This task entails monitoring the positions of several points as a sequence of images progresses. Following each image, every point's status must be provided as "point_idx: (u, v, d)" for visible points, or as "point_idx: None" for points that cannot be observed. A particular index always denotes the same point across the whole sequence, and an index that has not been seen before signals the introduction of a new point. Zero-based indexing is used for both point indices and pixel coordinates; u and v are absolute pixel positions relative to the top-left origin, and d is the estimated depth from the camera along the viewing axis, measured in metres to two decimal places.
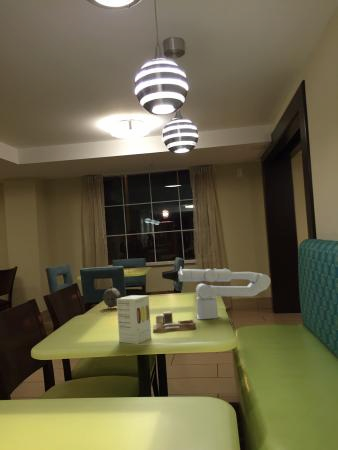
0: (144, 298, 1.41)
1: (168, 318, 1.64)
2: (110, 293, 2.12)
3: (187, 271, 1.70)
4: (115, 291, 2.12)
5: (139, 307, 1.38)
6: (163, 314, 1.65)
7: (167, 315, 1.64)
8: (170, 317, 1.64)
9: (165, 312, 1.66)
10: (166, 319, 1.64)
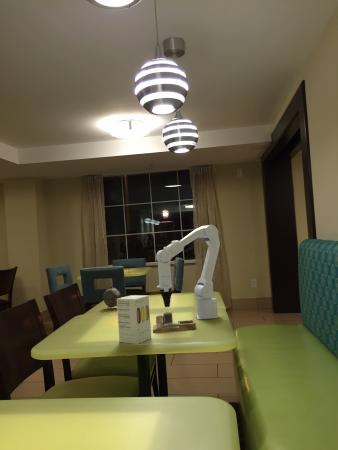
0: (144, 298, 1.41)
1: (168, 318, 1.64)
2: (110, 293, 2.12)
3: (161, 280, 1.65)
4: (115, 291, 2.12)
5: (139, 307, 1.38)
6: (163, 314, 1.65)
7: (167, 315, 1.64)
8: (170, 317, 1.64)
9: (165, 312, 1.66)
10: (166, 319, 1.64)
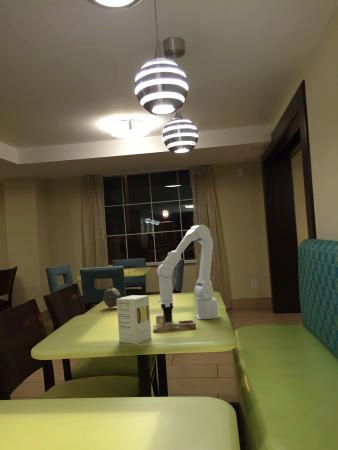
0: (144, 298, 1.41)
1: None
2: (110, 293, 2.12)
3: (162, 295, 1.64)
4: (115, 291, 2.12)
5: (139, 307, 1.38)
6: (163, 314, 1.65)
7: None
8: None
9: None
10: None
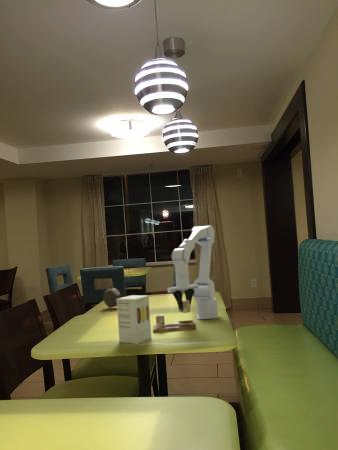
0: (144, 298, 1.41)
1: None
2: (110, 293, 2.12)
3: None
4: (115, 291, 2.12)
5: (139, 307, 1.38)
6: None
7: None
8: None
9: (183, 300, 1.58)
10: None
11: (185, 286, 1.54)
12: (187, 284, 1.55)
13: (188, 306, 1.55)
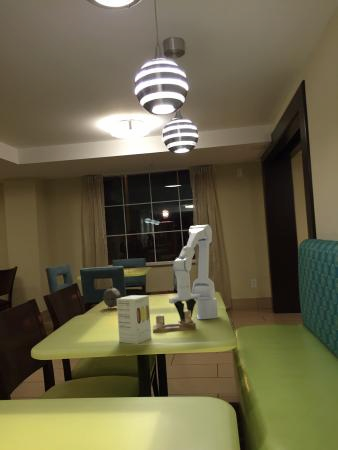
0: (144, 298, 1.41)
1: None
2: (110, 293, 2.12)
3: None
4: (115, 291, 2.12)
5: (139, 307, 1.38)
6: None
7: None
8: None
9: (184, 310, 1.57)
10: None
11: (187, 297, 1.53)
12: (189, 294, 1.54)
13: (190, 316, 1.55)
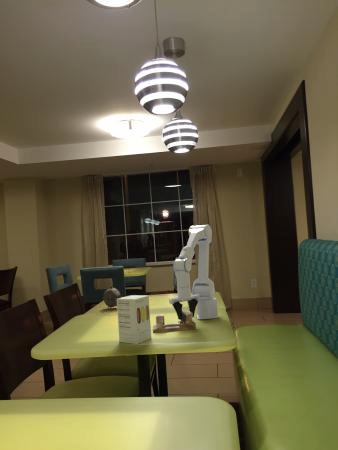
0: (144, 298, 1.41)
1: (183, 318, 1.54)
2: (110, 293, 2.12)
3: None
4: (115, 291, 2.12)
5: (139, 307, 1.38)
6: None
7: (183, 315, 1.54)
8: (184, 318, 1.54)
9: (186, 311, 1.56)
10: None
11: (187, 297, 1.53)
12: (189, 295, 1.54)
13: (191, 319, 1.54)
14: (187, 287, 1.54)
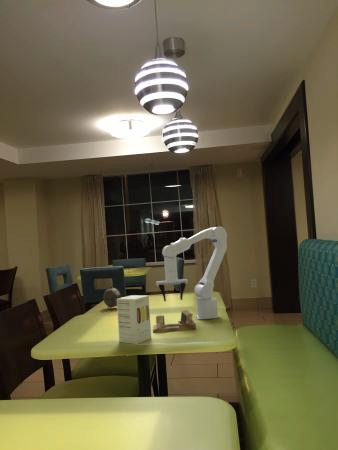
0: (144, 298, 1.41)
1: (183, 318, 1.54)
2: (110, 293, 2.12)
3: None
4: (115, 291, 2.12)
5: (139, 307, 1.38)
6: None
7: (183, 315, 1.54)
8: (184, 318, 1.54)
9: (186, 311, 1.56)
10: (181, 318, 1.55)
11: (171, 281, 1.66)
12: (173, 279, 1.66)
13: (191, 319, 1.54)
14: (171, 272, 1.66)
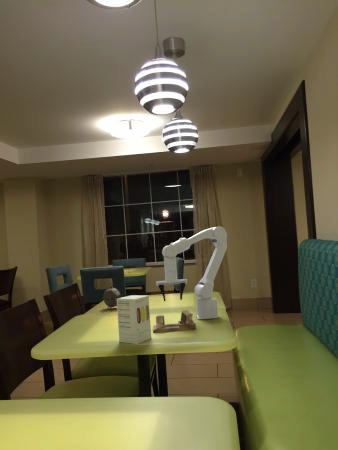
0: (144, 298, 1.41)
1: (183, 318, 1.54)
2: (110, 293, 2.12)
3: None
4: (115, 291, 2.12)
5: (139, 307, 1.38)
6: None
7: (183, 315, 1.54)
8: (184, 318, 1.54)
9: (186, 311, 1.56)
10: (181, 318, 1.55)
11: (170, 280, 1.66)
12: (173, 279, 1.66)
13: (191, 319, 1.54)
14: (171, 271, 1.66)
